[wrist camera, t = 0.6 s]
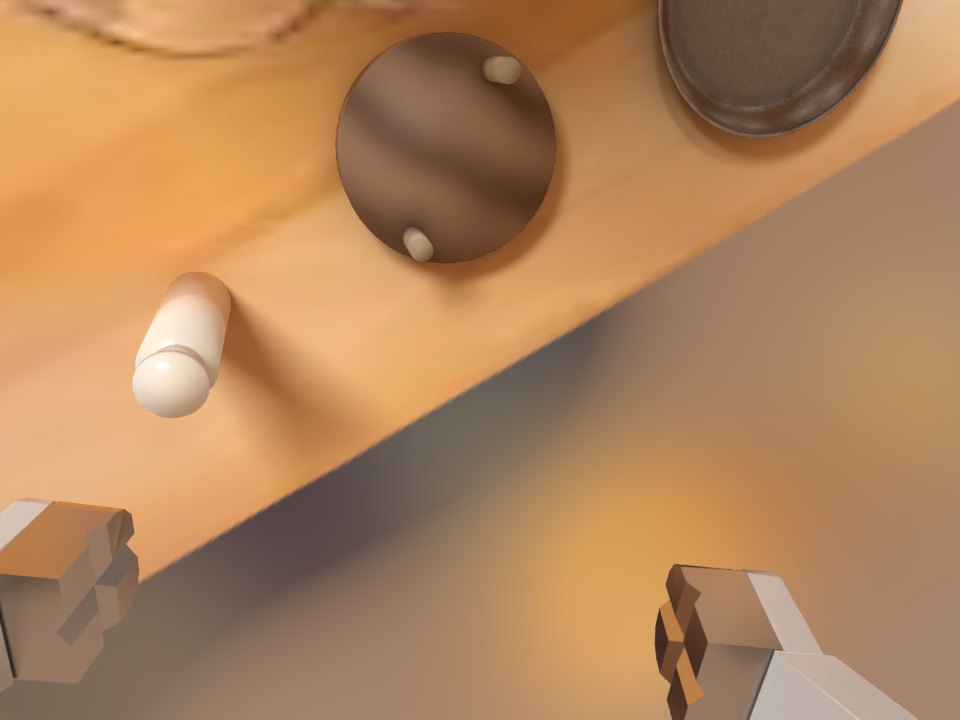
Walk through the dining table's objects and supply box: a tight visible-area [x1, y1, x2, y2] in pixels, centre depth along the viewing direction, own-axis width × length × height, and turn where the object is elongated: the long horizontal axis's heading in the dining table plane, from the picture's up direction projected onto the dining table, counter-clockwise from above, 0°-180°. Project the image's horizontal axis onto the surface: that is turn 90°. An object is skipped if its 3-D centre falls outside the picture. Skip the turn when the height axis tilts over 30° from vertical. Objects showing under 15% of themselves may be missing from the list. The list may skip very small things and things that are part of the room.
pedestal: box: [336, 33, 556, 263], centre depth 49 cm, size 16×16×6 cm
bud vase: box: [132, 272, 231, 418], centre depth 45 cm, size 5×5×15 cm
